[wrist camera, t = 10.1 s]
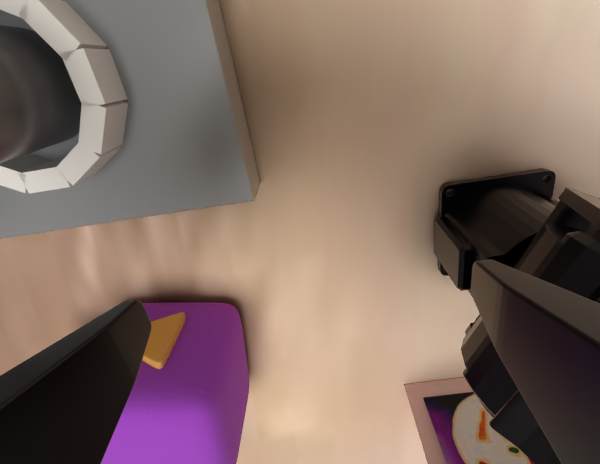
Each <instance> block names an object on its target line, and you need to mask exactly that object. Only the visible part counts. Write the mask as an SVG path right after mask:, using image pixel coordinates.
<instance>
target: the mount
mask: <svg viewBox="0 0 600 464" xmlns="http://www.w3.org/2000/svg"><path fill="white" fill-rule="evenodd" d="M0 25H1V26H10V27H19V28H25V29H29V30H33V31H36V32H37V33H38V34H39V35H40V36H41V37H42V38H43V39H44V40H45V41H46V42H47V43H48V44H49V45H50V46H51V47H52V48H53V49H54V50H55V51H56V52H57V53H58V54H59V55H60V56H61V57H62V59H63V61H64V63H65V66H66V68H67V71H68V73H69V75H70V78H71V80H72V82H73V85H74V87H75V89H76V92H77V94H78V96H79V99H80V101H81V103H82V105H81V117H80V130H79V133H78V134H77V135H76V136H74V137H73V138H71V139H69V140H67V141H64V142H61V143H58V144H55V145H52V146H49V147H46V148H43V149H40V150H37V151H34V152H31V153H28V154H26V155H23V156H20V157H17V158H14V159H11V160H8V161H5V162H2V163H0V239H1V238H8V237H15V236H21V235H28V234H34V233H41V232H48V231H54V230H61V229H68V228H74V227H81V226H88V225H94V224H101V223H108V222H114V221H121V220H128V219H134V218H141V217H148V216H154V215H161V214H168V213H174V212H181V211H188V210H194V209H201V208H207V207H214V206H221V205H227V204H234V203H241V202H247V201H254V199H255V196H256V193H257V191H258V188H259V185H260V178H259V174H258V170H257V165H256V161H255V156H254V152H253V148H252V143H251V139H250V134H249V130H248V125H247V121H246V117H245V112H244V108H243V103H242V99H241V95H240V90H239V86H238V81H237V77H236V73H235V68H234V64H233V59H232V55H231V50H230V46H229V42H228V37H227V33H226V28H225V24H224V20H223V15H222V11H221V6H220V2H219V0H0Z"/></svg>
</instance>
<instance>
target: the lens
mask: <svg viewBox="0 0 600 464" xmlns="http://www.w3.org/2000/svg"><path fill="white" fill-rule="evenodd" d="M81 105H82V103H81V101H80V99H79V96H78V94H77V92H76V89H75V87H74V85H73V82H72V80H71V78H70V75H69V73H68V71H67V68H66V66H65V63H64V61H63V59H62V57H61V56H60V55H59V54H58V53H57V52H56V51H55V50H54V49H53V48H52V47H51V46H50V45H49V44H48V43H47V42H46V41H45V40H44V39H43V38H42V37H41V36H40V35H39V34H38V33H37V32H36V31H33V30H29V29H25V28H19V27H10V26H1V25H0V163H2V162H5V161H8V160H11V159H14V158H17V157H20V156H23V155H26V154H28V153H31V152H34V151H37V150H40V149H43V148H46V147H49V146H52V145H55V144H58V143H61V142H64V141H67V140H69V139H71V138H73V137H74V136H76V135H77V134H78V133H79V130H80V117H81Z"/></svg>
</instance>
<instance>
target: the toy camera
mask: <svg viewBox="0 0 600 464" xmlns="http://www.w3.org/2000/svg"><path fill="white" fill-rule="evenodd" d="M142 304H143V306H144V308H145V310H146V312H147V315H148V317H149V319H150V321H151V325H152V328H151V333H150V337H149V340H148V343H147V346H146V350H145V353H144V356H143V359H142V362H141V366H140V369H139V372H138V375H137V378H136V381H135V383H134V386H133V389H132V391H131V393H130V396H129V398H128V400H127V403H126V405H125V408H124V410H123V412H122V415H121V417H120V419H119V422H118V424H117V427H116V429H115V431H114V434H113V436H112V438H111V441H110V443H109V445H108V448H107V450H106V453H105V455H104V457H103V460H102V462H101V464H236V462H237V457H238V452H239V446H240V440H241V434H242V429H243V423H244V417H245V411H246V406H247V399H248V393H249V375H248V366H247V358H246V351H245V343H244V336H243V329H242V323H241V319H240V316H239V313H238V311H237V309H236V308H235V307H234V306H233V305H230V304H226V303H216V302H176V303H142Z"/></svg>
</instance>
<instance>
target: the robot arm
mask: <svg viewBox="0 0 600 464" xmlns="http://www.w3.org/2000/svg"><path fill="white" fill-rule="evenodd" d="M545 175H547V177H546V179H545V180H543V181H542V178H543V177H544V176H545ZM554 184H555V173H554V172H552V171H550V170H548V169H539V170H533V171H526V172H519V173H512V174H505V175H499V176H492V177H485V178H478V179H472V180H465V181H458V182H451V183H446V184H444V185H443V186H442V187H441V188H440V192H439V217H437V218H436V220H435V226H434V253H435V255H436V257H437V258H438V269H439V271H440V272H441V274H442V275H446V276H448V275H449V276H450V278H451V279H452V281H453V282H454V284H455V285H456V287H457V288H458V289H460V290H461V291H462V290H468V291H469V293H470V294H471V295H472V297H473V299H474V301H475V303H476V306H477V308H478V310H479V313H480V315H479V316H478V317H477V319H476V320H475V322H474V323H471V324H470V325H469V326H468V328H467V329H466V331H465V332H466V336H465V338H464V339H463V343H462V347H461V351H462V355H463V359H464V363H465V366H466V369H465V370H464V372H463V374H464V377H465V379H466V381H467V383H468V384H469V386H470V387H471V389H472V391H473V392H474V394H475V395H476V396H477V398H478V399H479V401H480V402H481V404H482V405H483V406H484V408H485V409H486V410H487V411H488V413H489V414H490V415H491V416H492V417H493V418H492V419H491V420H490V422H489V424H490V426H491V427H492V429H494V430H495V431H496V432H497V433H499V434H500V435H502V436H503V437H504V438H506V439H507V440H508V441H510V442H511V443H512V444H514V445H515V446H516V447H518V448H519V449H520V450H521V451H522V452H523V453H524V454H525V455H526V456H527V457H528V458H529V459H530V460H532V461H533V462H534V463H535V464H600V199H599V198H596V197H593V196H590V195H587V194H584V193H582V192H579V191H576V190H573V189H570V188H566V189H565V190H564V191H563V193H562V194H561V196H560V197H559V199H560V201H559V202H558V201H556V200H554V199H552V195H553V189H554ZM449 189H452V192H451V193H450V194H448V195H446V192H447V190H449ZM151 328H152V325H151V321H150V319H149V317H148V315H147V312H146V310H145V308H144V306H143V304H142V302H141V301H139V300H132V301H125V302H122V303H121V304H119V305H117V306H116V307H114V308H112V309H111V310H109V311H107V312H106V313H104V314H102V315H101V316H99V317H97V318H96V319H94V320H92V321H91V322H89V323H87V324H86V325H84V326H82V327H81V328H79V329H77V330H76V331H74V332H72V333H71V334H69V335H67V336H66V337H64V338H62V339H61V340H59V341H57V342H56V343H54V344H52V345H51V346H49V347H47V348H46V349H44V350H42V351H41V352H39V353H37V354H36V355H34V356H32V357H31V358H29V359H27V360H26V361H24V362H22V363H21V364H19V365H17V366H16V367H14V368H12V369H11V370H9V371H7V372H6V373H4V374H2V375H1V376H0V464H101V462H102V460H103V457H104V455H105V453H106V450H107V448H108V445H109V443H110V441H111V438H112V436H113V434H114V431H115V429H116V427H117V424H118V422H119V419H120V417H121V415H122V412H123V410H124V408H125V405H126V403H127V400H128V398H129V396H130V393H131V391H132V389H133V386H134V383H135V381H136V378H137V375H138V372H139V369H140V366H141V362H142V359H143V356H144V353H145V350H146V346H147V343H148V340H149V337H150V333H151Z"/></svg>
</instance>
